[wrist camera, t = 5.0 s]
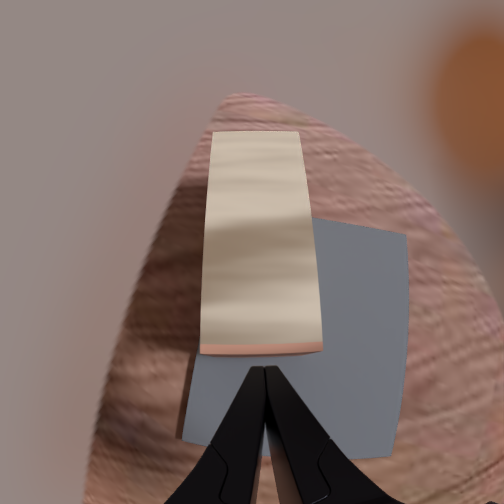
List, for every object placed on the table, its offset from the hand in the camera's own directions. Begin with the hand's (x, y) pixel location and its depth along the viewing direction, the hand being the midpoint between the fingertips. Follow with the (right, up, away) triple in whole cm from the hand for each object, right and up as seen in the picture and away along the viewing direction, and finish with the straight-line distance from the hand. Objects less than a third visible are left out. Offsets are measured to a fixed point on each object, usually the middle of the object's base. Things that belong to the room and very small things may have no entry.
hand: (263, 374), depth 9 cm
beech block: (0, -1, +5) cm, 5 cm away
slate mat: (+3, -1, +8) cm, 9 cm away
